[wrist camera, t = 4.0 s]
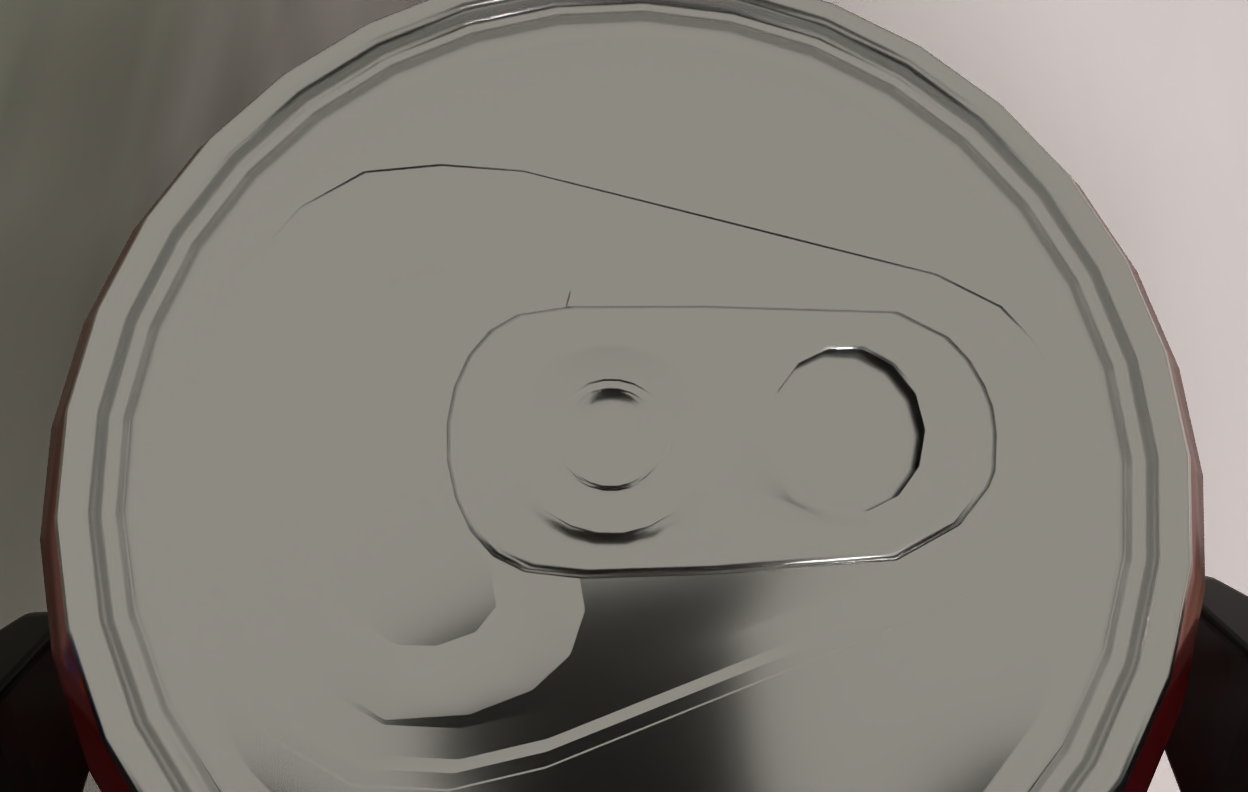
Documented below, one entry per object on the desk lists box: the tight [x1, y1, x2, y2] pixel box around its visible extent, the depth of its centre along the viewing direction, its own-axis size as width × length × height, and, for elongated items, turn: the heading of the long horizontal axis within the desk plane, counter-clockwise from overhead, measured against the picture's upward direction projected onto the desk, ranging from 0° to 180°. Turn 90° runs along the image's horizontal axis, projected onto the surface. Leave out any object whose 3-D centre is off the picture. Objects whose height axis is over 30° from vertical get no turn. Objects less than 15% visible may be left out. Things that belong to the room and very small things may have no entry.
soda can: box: [40, 0, 1205, 792], centre depth 12 cm, size 7×7×12 cm
